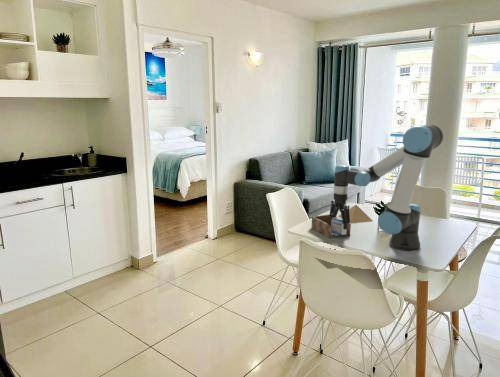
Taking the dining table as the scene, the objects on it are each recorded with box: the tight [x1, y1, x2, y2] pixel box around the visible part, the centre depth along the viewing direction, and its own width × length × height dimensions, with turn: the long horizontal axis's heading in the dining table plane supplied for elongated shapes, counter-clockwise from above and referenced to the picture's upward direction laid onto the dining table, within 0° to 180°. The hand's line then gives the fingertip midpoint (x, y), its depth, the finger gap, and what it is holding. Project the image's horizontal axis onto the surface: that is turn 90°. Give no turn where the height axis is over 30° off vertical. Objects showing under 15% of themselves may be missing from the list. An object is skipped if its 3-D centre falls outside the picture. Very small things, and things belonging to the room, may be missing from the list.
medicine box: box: [331, 216, 347, 236], centre depth 214 cm, size 8×4×9 cm, turn 62°
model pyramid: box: [337, 204, 374, 224], centre depth 246 cm, size 17×17×10 cm
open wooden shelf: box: [311, 214, 352, 239], centre depth 222 cm, size 20×13×7 cm, turn 23°
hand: (338, 231), depth 215 cm, fingers closed on medicine box, 9 cm apart
